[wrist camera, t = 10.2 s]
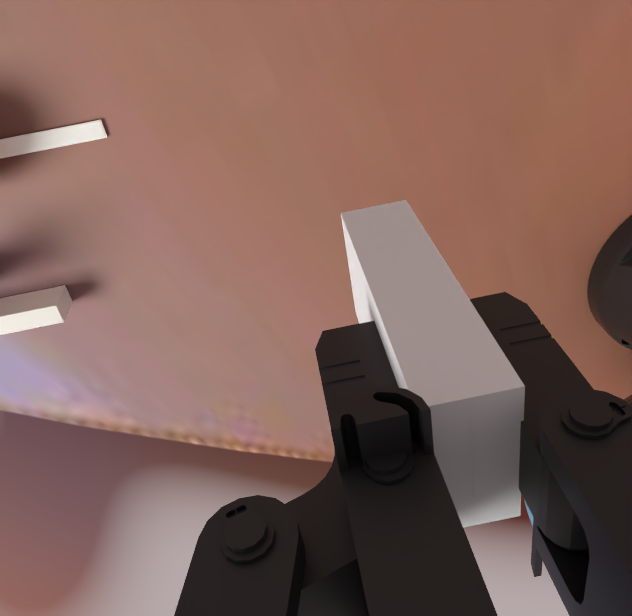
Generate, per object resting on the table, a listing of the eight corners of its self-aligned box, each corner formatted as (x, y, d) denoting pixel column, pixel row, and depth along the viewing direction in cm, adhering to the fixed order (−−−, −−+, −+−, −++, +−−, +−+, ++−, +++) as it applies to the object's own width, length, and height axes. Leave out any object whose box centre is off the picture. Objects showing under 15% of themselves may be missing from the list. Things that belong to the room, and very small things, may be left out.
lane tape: (101, 119, 41) (100, 120, 41) (107, 136, 42) (106, 137, 41) (-46, 148, 41) (-47, 149, 41) (-37, 165, 41) (-38, 166, 41)
